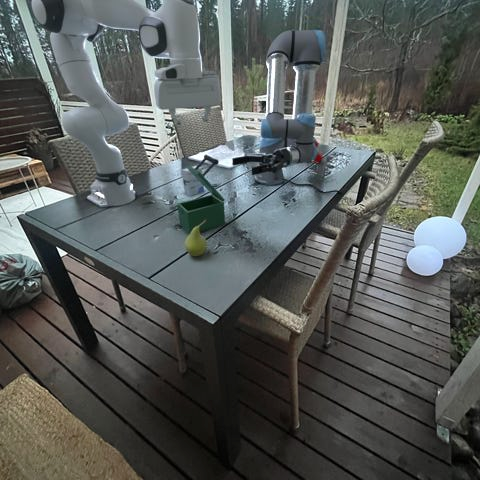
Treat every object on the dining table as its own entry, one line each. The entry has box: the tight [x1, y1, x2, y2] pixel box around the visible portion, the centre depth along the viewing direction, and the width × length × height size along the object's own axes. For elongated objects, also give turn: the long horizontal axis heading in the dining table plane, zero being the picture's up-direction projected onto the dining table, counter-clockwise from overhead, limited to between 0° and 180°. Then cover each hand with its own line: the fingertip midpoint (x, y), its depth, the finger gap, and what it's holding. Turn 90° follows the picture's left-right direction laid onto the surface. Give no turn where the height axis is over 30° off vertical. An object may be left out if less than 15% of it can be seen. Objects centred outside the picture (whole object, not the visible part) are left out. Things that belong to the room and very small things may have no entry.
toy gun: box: [313, 138, 324, 165], centre depth 169 cm, size 18×4×15 cm
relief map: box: [188, 144, 246, 170], centre depth 178 cm, size 27×35×5 cm
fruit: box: [184, 219, 208, 257], centre depth 85 cm, size 7×8×12 cm
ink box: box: [181, 165, 205, 197], centre depth 128 cm, size 8×5×12 cm, turn 134°
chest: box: [176, 194, 226, 235], centre depth 103 cm, size 15×9×9 cm, turn 123°
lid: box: [185, 154, 226, 203], centre depth 98 cm, size 16×9×9 cm
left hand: (191, 123), depth 85 cm, fingers open, 8 cm apart
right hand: (242, 166), depth 103 cm, fingers open, 13 cm apart
